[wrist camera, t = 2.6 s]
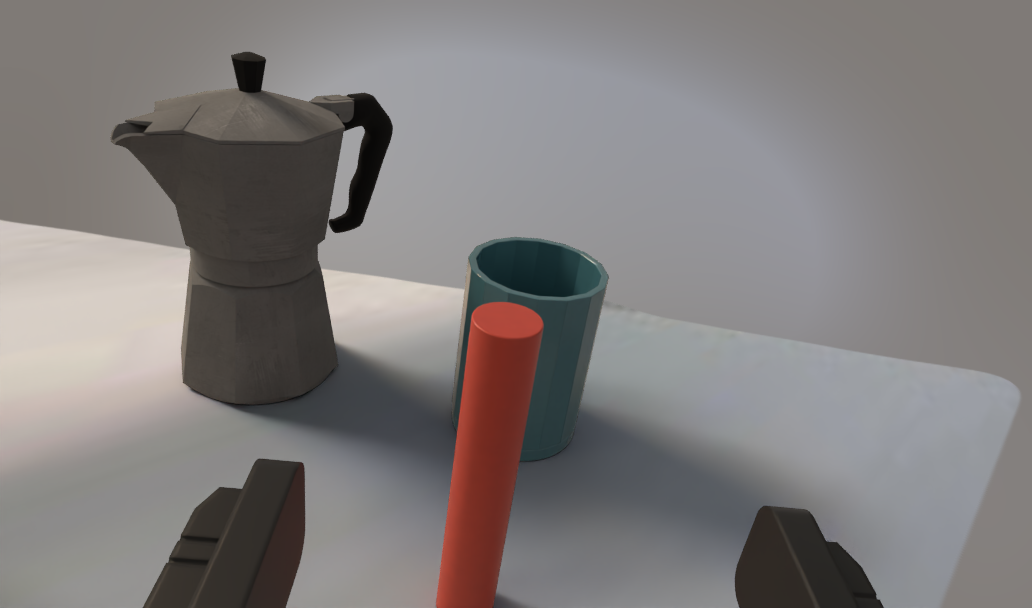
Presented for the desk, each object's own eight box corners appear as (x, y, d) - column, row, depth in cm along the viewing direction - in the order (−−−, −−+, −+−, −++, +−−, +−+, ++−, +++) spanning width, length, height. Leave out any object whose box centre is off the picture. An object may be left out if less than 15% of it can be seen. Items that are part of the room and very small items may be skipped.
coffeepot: (186, 445, 36) (148, 83, 28) (112, 359, 41) (61, 33, 33) (423, 352, 46) (448, 68, 38) (340, 293, 52) (346, 32, 43)
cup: (434, 441, 39) (451, 279, 34) (471, 372, 45) (490, 227, 40) (562, 475, 38) (598, 313, 33) (582, 400, 44) (614, 254, 39)
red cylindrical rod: (428, 619, 29) (462, 327, 23) (446, 574, 31) (482, 295, 25) (484, 636, 29) (535, 345, 22) (499, 589, 31) (550, 311, 24)
